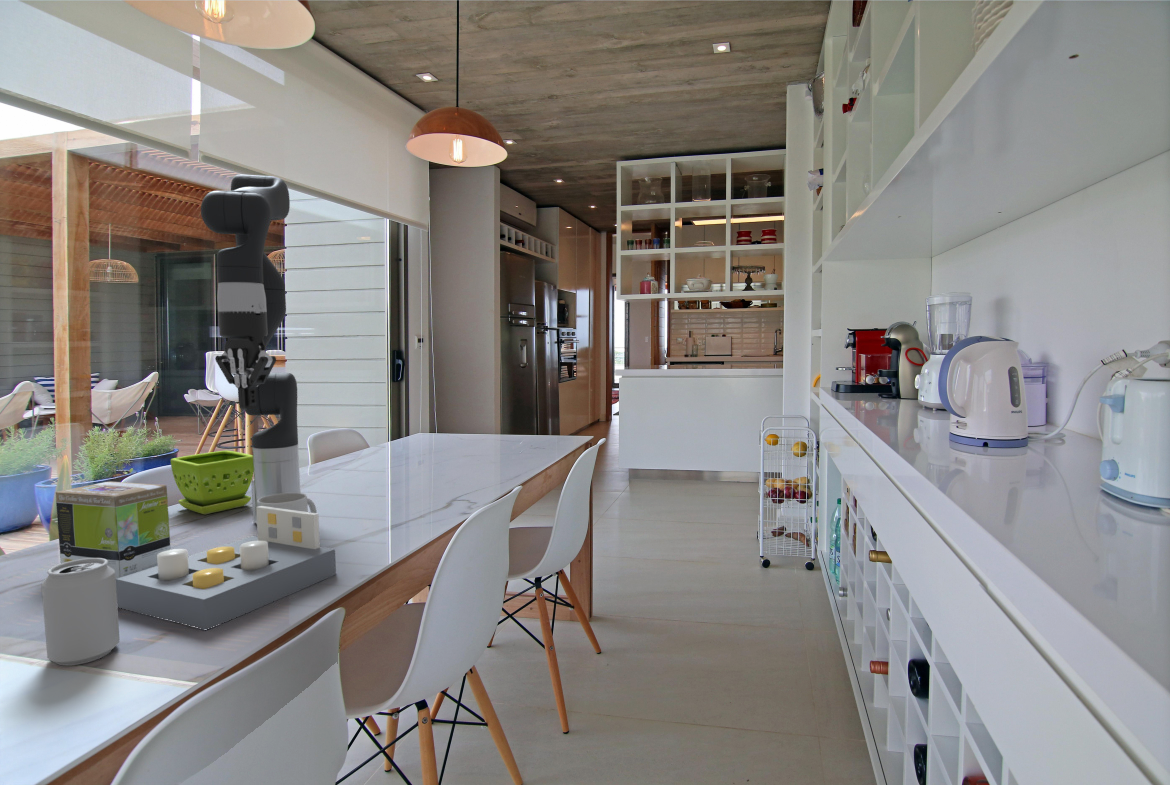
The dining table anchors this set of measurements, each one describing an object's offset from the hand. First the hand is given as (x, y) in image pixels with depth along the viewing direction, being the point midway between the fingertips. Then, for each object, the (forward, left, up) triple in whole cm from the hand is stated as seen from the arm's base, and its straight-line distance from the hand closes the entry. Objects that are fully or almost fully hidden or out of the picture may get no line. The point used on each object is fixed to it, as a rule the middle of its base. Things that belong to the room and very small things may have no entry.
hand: (248, 408), depth 117 cm
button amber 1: (+3, -9, -28) cm, 29 cm away
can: (+9, -33, -29) cm, 44 cm away
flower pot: (-45, +25, -29) cm, 59 cm away
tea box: (-22, -11, -29) cm, 38 cm away
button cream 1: (+3, -17, -26) cm, 31 cm away
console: (+7, -10, -28) cm, 31 cm away
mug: (-3, +10, -29) cm, 31 cm away
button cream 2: (+11, -9, -26) cm, 29 cm away
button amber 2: (+11, -17, -28) cm, 34 cm away
